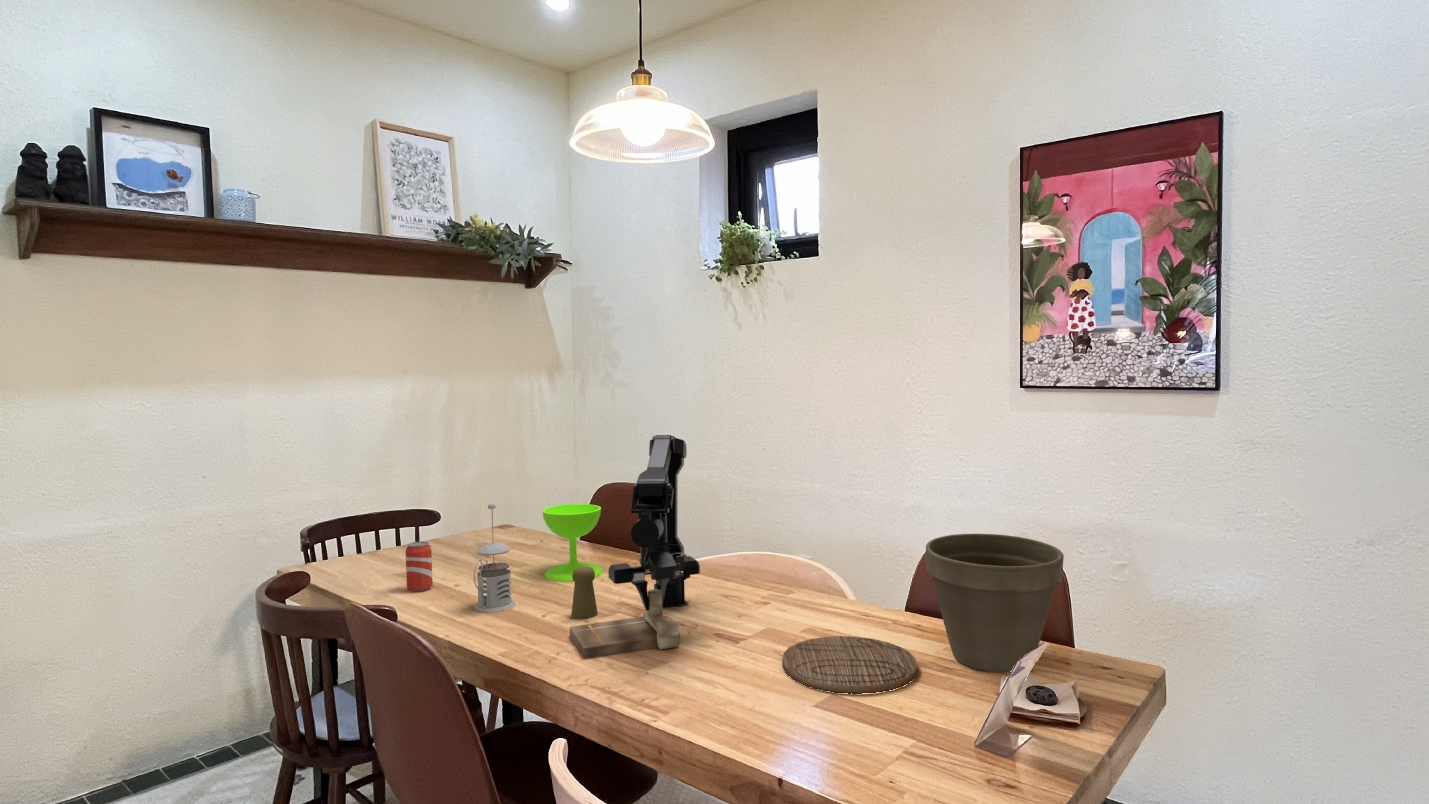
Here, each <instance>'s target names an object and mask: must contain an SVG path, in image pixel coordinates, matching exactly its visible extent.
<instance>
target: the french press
mask: <svg viewBox="0 0 1429 804" xmlns="http://www.w3.org/2000/svg"><path fill="white" fill-rule="evenodd" d="M487 509H488V510H491V533H492V539H494V513H493V510H494V509H497V506H496V504H495V503H494V502H493V503H492V502H491V503H489V504H488V505H487ZM510 551H511V547H510V546H508V545H507V544H504V543H499V542H494V540H492V542H490V543H486V544H484V545H482V546H480V547H478V548H477V549H476V550H475V553H476V554H477V555H479V556H488V557H489V556H492V562H490V563H488V560H487V559H484V561H483V562H482V560H481V559H479V560H478V561H477V562H476V565H475V567H474V570H473V582H474V586H475V588H476V590H477V599H478V600H477V601H478V603H476V604H475V606H474V608H473V610H475V611H477V612H479V613H497V612H498V611H500V612H503V611H502V610H504V611H508V610H510V608H511V609H513V608H515V606H516V604H517V603H516V602H515V601H514V600H513V599H512V592H511V591H512V587H511V586H512V582H511V579H512V576H511V570H510V569H508V568H509V567H510V564H508V563H506V562H495V556H498V555H503V554H506V553H508V552H510ZM479 562H480V565H479V566H478V564H479ZM477 566H478V570H479V572H477V574H476V570H477ZM476 575H477V583H476ZM484 578H485V579H484ZM485 594H486V595H485ZM507 609H508V610H507ZM498 613H499V612H498Z"/></svg>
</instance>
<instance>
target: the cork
mask: <svg viewBox="0 0 1429 804" xmlns="http://www.w3.org/2000/svg"><path fill="white" fill-rule="evenodd" d="M572 578H573V581H572V582H574V586H573V587H574V588H573V596H572V597H573V598H572V607H571V618H574V619H580V620H585V619H586V620H587V619H590V618H591V619H592V618H594V617H596V616H598V615H599V614H598V608H597V607H598V606H597V602H596V601H597V600H596V593H595V588H594V580H595V578H596V577H595V572H594V570H593V568H591V567H578V568H576V569H574V571H573V573H572Z"/></svg>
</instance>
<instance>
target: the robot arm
mask: <svg viewBox="0 0 1429 804" xmlns="http://www.w3.org/2000/svg"><path fill="white" fill-rule="evenodd" d="M648 445H649V449H648V453H649V454H648V456H649V460H648V464H647V468H646V470H644V471H642V472H640V473H639V475H638V478H637V480H636V482H635V483H634V484H633V491H632V501H631V507H630V508H631V510H630V511H631V512H630V513H631V514H638V519H637V520H636V522H635V523H634V524H633V525H632V527H631V531H630V536H631V537H630V538H631V540H632V542H633V543H634V545H636V546H637V547H639V548H640V558H639V564H640V566H638V565H637V566H631V565H629V564H628V563H627V562H625V563H614V564H610V566H609V567H608V578H609V580H610V581H612V582H613V583H614V584H616V585H620V584H621V585H622V584H629V583H631V584H632V585H633V586H635V587H636V589H637V592H638V594H639V596H640V600H641V602H642V604H643V607H644V611H645V610H646V611H648V610H649V602H648V581H647V580H646V578H645V576H646V575H648V576H649V575H650V576H651V577H650V578H651V580H654V581H655V583H654V584H653V589H659V590H662V610H663V609H666V608H668V607H674V606H682V605H683V606H684V605H688V601H687V600H686V598H685V597H686V596H685V581H686V580H687V579H690V578H691V576H692V575H693V576H694V575H699V574H700V573H701V571H700V570H701V569H700V566H701V565H700V562H699V561H698V560H697V559H695V558H694V557H692V556H691V555H687V554H685V547H684V545H683V543H682V541H681V539H680V537H678V477H679V476H678V475H679V474H680V472H681V471H682V469H683V467H684V466H685V458H686V459H687V443H686V442H685V440H684V439H681V438H678V437H675V436H674V435H671V434H656V435H653V436H652V437H651V439H650V440H649V444H648Z"/></svg>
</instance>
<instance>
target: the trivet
mask: <svg viewBox="0 0 1429 804" xmlns="http://www.w3.org/2000/svg"><path fill="white" fill-rule="evenodd" d="M781 660H782V662H781V665H782V666H781V667H783V668H782V670H783V669H784V670H783V672H784V671H785V672H784V674H785V673H786V674H787V675H788V676H790V677H791V678H792V679H793V680H795V681H797V682H799V683H801V684H803V685H805V686H807V687H806V688H808V687H812V688H815V689H819V690H823V691H830V692H834V693H833V694H835V693H848V694H851V693H852V694H862V693H876V692H883V691H889V690H893V689H896V688H899V687H902V686H904V685H906V684H908V683H909V682H910V681H912V680H913V679H914V678H915V679H916V677H917V675H918V663H917V659H916V657H915V656H914V655H913V654H912V653H911V652H909V651H908V650H906V649H905V648H903V647H901V646H899V645H897V644H894V643H890V642H888V641H885V640H879V639H875V638H869V637H862V636H850V635H849V636H848V635H847V636H846V635H836V636H821V637H815V638H810V639H806V640H802V641H799V642H797V643H795V644H792V645H791V646H789V647H788V648H787V649H786V650H785V651H784V652H783V654H782V658H781ZM786 674H785V675H786ZM916 674H917V675H916ZM787 675H786V676H787ZM788 676H787V677H788ZM915 676H916V677H915ZM791 678H790V679H791ZM792 679H791V680H792ZM915 679H914V680H915ZM793 680H792V681H793ZM795 681H794V682H795ZM797 682H796V683H797ZM912 682H913V681H912ZM799 683H798V684H799ZM801 684H800V685H801ZM803 685H802V686H803ZM908 685H909V684H908ZM805 686H804V687H805ZM812 688H811V689H812ZM815 689H814V690H815ZM819 690H818V691H819ZM823 691H822V692H823Z"/></svg>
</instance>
